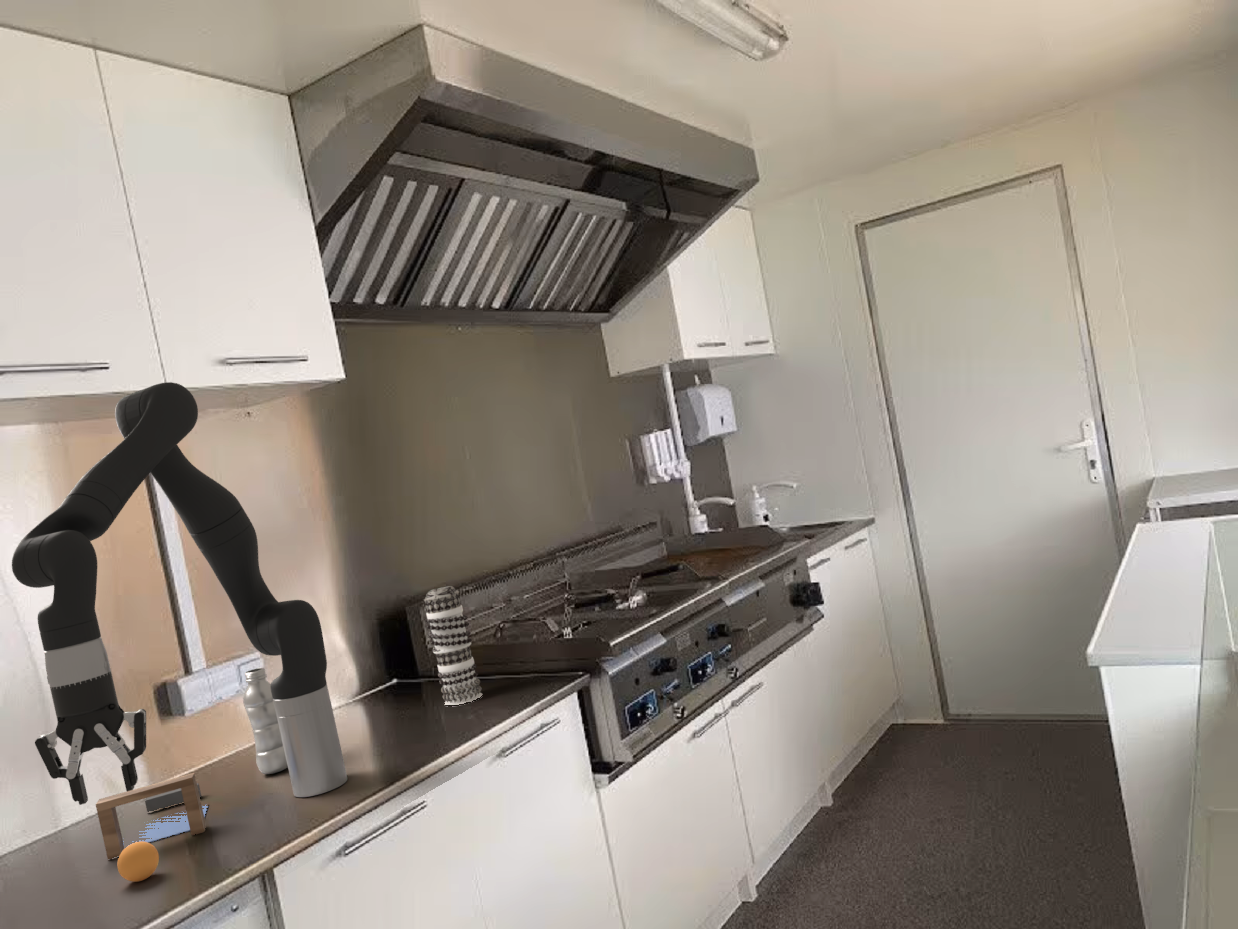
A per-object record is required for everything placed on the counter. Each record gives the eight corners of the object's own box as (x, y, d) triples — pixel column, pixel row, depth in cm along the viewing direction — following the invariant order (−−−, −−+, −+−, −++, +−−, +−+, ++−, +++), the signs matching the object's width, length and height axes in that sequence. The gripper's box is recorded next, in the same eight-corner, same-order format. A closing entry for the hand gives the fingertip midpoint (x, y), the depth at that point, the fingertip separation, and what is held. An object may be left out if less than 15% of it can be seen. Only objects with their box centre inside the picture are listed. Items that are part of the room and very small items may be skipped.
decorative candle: (433, 707, 217) (409, 595, 216) (464, 693, 224) (441, 585, 223) (462, 707, 211) (437, 592, 210) (492, 693, 218) (468, 582, 218)
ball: (125, 879, 148) (117, 843, 148) (164, 867, 149) (156, 831, 149) (118, 892, 143) (110, 855, 142) (159, 880, 144) (151, 843, 144)
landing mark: (130, 828, 174) (129, 826, 174) (208, 805, 177) (208, 804, 177) (116, 852, 161) (116, 851, 161) (201, 827, 165) (201, 826, 165)
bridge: (111, 854, 161) (99, 799, 161) (206, 826, 165) (194, 772, 165) (108, 860, 158) (95, 804, 158) (204, 832, 162) (192, 777, 162)
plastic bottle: (298, 762, 194) (276, 662, 193) (288, 774, 187) (265, 670, 187) (266, 769, 194) (244, 669, 193) (254, 781, 187) (231, 678, 186)
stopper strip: (149, 811, 182) (146, 797, 182) (201, 796, 184) (198, 783, 184) (147, 814, 180) (144, 800, 180) (200, 799, 183) (197, 785, 183)
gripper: (141, 658, 142) (166, 773, 142) (29, 685, 137) (56, 804, 138) (132, 666, 135) (159, 788, 135) (14, 695, 130) (42, 820, 131)
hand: (107, 795), depth 137 cm, fingers open, 5 cm apart
